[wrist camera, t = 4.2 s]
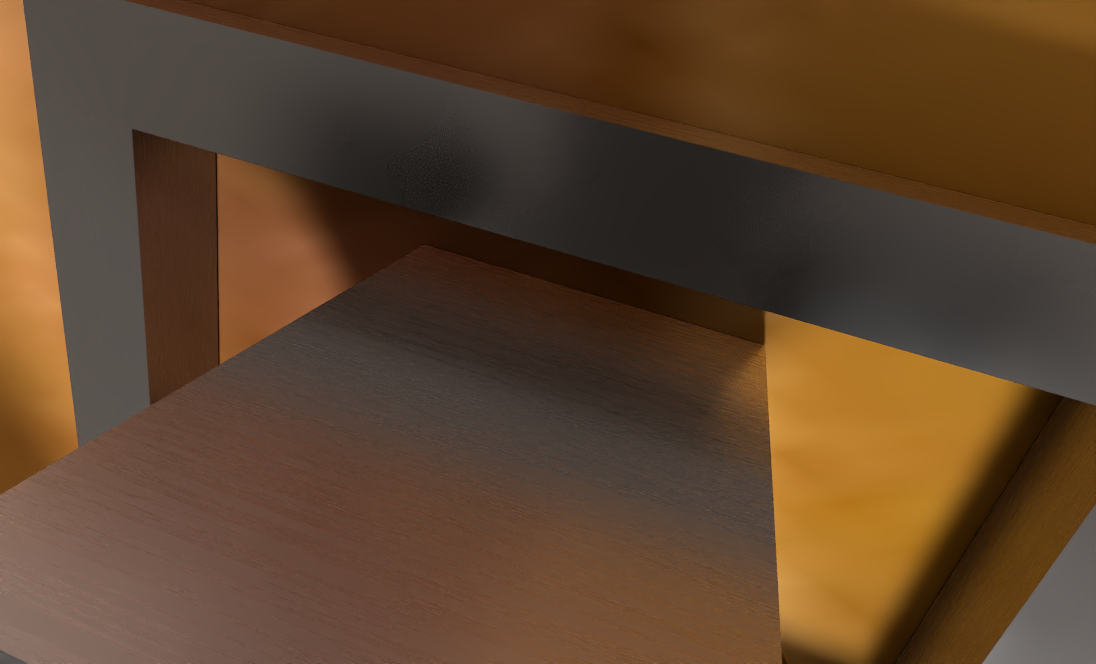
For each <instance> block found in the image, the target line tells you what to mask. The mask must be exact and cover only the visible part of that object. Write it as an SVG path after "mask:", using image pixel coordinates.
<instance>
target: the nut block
mask: <svg viewBox="0 0 1096 664" xmlns="http://www.w3.org/2000/svg"><path fill="white" fill-rule="evenodd" d="M0 664H782V653H781V635H780V616H779V598H778V580H777V561H776V543H775V524H774V506H773V488H772V469H771V451H770V432H769V414H768V396H767V377H766V359H765V346H764V345H761V344H757V343H754V342H751V341H747V340H744V339H741V338H737V337H734V336H731V335H727V334H724V333H720V332H717V331H714V330H710V329H707V328H704V327H700V326H697V325H693V324H690V323H687V322H683V321H680V320H677V319H673V318H670V317H666V316H663V315H660V314H656V313H653V312H650V311H646V310H643V309H640V308H636V307H633V306H629V305H626V304H623V303H619V302H616V301H613V300H609V299H606V298H602V297H599V296H596V295H592V294H589V293H586V292H582V291H579V290H576V289H572V288H569V287H565V286H562V285H559V284H555V283H552V282H549V281H545V280H542V279H538V278H535V277H532V276H528V275H525V274H522V273H518V272H515V271H512V270H508V269H505V268H501V267H498V266H495V265H491V264H488V263H485V262H481V261H478V260H474V259H471V258H468V257H464V256H461V255H458V254H454V253H451V252H448V251H444V250H441V249H437V248H434V247H431V246H427V245H422V246H420V247H419V248H417V249H415V250H414V251H412V252H410V253H408V254H407V255H405V256H403V257H402V258H400V259H398V260H397V261H395V262H393V263H391V264H390V265H388V266H386V267H385V268H383V269H381V270H380V271H378V272H376V273H375V274H373V275H371V276H369V277H368V278H366V279H364V280H363V281H361V282H359V283H358V284H356V285H354V286H353V287H351V288H349V289H347V290H346V291H344V292H342V293H341V294H339V295H337V296H336V297H334V298H332V299H330V300H329V301H327V302H325V303H324V304H322V305H320V306H319V307H317V308H315V309H314V310H312V311H310V312H308V313H307V314H305V315H303V316H302V317H300V318H298V319H297V320H295V321H293V322H292V323H290V324H288V325H286V326H285V327H283V328H281V329H280V330H278V331H276V332H275V333H273V334H271V335H269V336H268V337H266V338H264V339H263V340H261V341H259V342H258V343H256V344H254V345H253V346H251V347H249V348H247V349H246V350H244V351H242V352H241V353H239V354H237V355H236V356H234V357H232V358H230V359H229V360H227V361H225V362H224V363H222V364H220V365H219V366H217V367H215V368H214V369H212V370H210V371H208V372H207V373H205V374H203V375H202V376H200V377H198V378H197V379H195V380H193V381H192V382H190V383H188V384H186V385H185V386H183V387H181V388H180V389H178V390H176V391H175V392H173V393H171V394H169V395H168V396H166V397H164V398H163V399H161V400H159V401H158V402H156V403H154V404H153V405H151V406H149V407H147V408H146V409H144V410H142V411H141V412H139V413H137V414H136V415H134V416H132V417H130V418H129V419H127V420H125V421H124V422H122V423H120V424H119V425H117V426H115V427H114V428H112V429H110V430H108V431H107V432H105V433H103V434H102V435H100V436H98V437H97V438H95V439H93V440H92V441H90V442H88V443H86V444H85V445H83V446H81V447H80V448H78V449H76V450H75V451H73V452H71V453H69V454H68V455H66V456H64V457H63V458H61V459H59V460H58V461H56V462H54V463H53V464H51V465H49V466H47V467H46V468H44V469H42V470H41V471H39V472H37V473H36V474H34V475H32V476H30V477H29V478H27V479H25V480H24V481H22V482H20V483H19V484H17V485H15V486H14V487H12V488H10V489H8V490H7V491H5V492H3V493H2V494H0Z"/></svg>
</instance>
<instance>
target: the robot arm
mask: <svg viewBox="0 0 1096 664" xmlns="http://www.w3.org/2000/svg"><path fill="white" fill-rule="evenodd" d="M781 653H782V664H789V662H788V660H787V658H786V656H785V654H784V652H783V650H782V648H781Z"/></svg>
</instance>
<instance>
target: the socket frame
mask: <svg viewBox="0 0 1096 664" xmlns="http://www.w3.org/2000/svg"><path fill="white" fill-rule="evenodd" d="M23 4H24V12H25V20H26V28H27V36H28V44H29V52H30V60H31V68H32V76H33V84H34V92H35V100H36V108H37V116H38V124H39V132H40V140H41V148H42V156H43V164H44V172H45V180H46V188H47V196H48V204H49V212H50V220H51V228H52V236H53V244H54V252H55V260H56V268H57V276H58V284H59V292H60V300H61V308H62V316H63V324H64V332H65V340H66V348H67V356H68V364H69V372H70V380H71V388H72V396H73V404H74V412H75V420H76V428H77V436H78V444H79V448H80V447H81V446H83V445H85V444H86V443H88V442H90V441H92V440H93V439H95V438H97V437H98V436H100V435H102V434H103V433H105V432H107V431H108V430H110V429H112V428H114V427H115V426H117V425H119V424H120V423H122V422H124V421H125V420H127V419H129V418H130V417H132V416H134V415H136V414H137V413H139V412H141V411H142V410H144V409H146V408H147V407H149V406H151V405H153V404H154V403H156V402H158V401H159V400H161V399H163V398H164V397H166V396H168V395H169V394H171V393H173V392H175V391H176V390H178V389H180V388H181V387H183V386H185V385H186V384H188V383H190V382H192V381H193V380H195V379H197V378H198V377H200V376H202V375H203V374H205V373H207V372H208V371H210V370H212V369H214V368H215V367H217V366H218V301H217V228H216V155H215V153H219V154H222V155H226V156H229V157H233V158H236V159H239V160H243V161H246V162H250V163H253V164H257V165H260V166H264V167H267V168H271V169H274V170H278V171H281V172H285V173H288V174H292V175H295V176H299V177H302V178H306V179H309V180H313V181H316V182H320V183H323V184H326V185H330V186H333V187H337V188H340V189H344V190H347V191H351V192H354V193H358V194H361V195H365V196H368V197H372V198H375V199H379V200H382V201H386V202H389V203H393V204H396V205H400V206H403V207H407V208H410V209H413V210H417V211H420V212H424V213H427V214H431V215H434V216H438V217H441V218H445V219H448V220H452V221H455V222H459V223H462V224H466V225H469V226H473V227H476V228H480V229H483V230H487V231H490V232H494V233H497V234H501V235H504V236H507V237H511V238H514V239H518V240H521V241H525V242H528V243H532V244H535V245H539V246H542V247H546V248H549V249H553V250H556V251H560V252H563V253H567V254H570V255H574V256H577V257H581V258H584V259H588V260H591V261H594V262H598V263H601V264H605V265H608V266H612V267H615V268H619V269H622V270H626V271H629V272H633V273H636V274H640V275H643V276H647V277H650V278H654V279H657V280H661V281H664V282H668V283H671V284H675V285H678V286H681V287H685V288H688V289H692V290H695V291H699V292H702V293H706V294H709V295H713V296H716V297H720V298H723V299H727V300H730V301H734V302H737V303H741V304H744V305H748V306H751V307H755V308H758V309H762V310H765V311H768V312H772V313H775V314H779V315H782V316H786V317H789V318H793V319H796V320H800V321H803V322H807V323H810V324H814V325H817V326H821V327H824V328H828V329H831V330H835V331H838V332H842V333H845V334H849V335H852V336H856V337H859V338H862V339H866V340H869V341H873V342H876V343H880V344H883V345H887V346H890V347H894V348H897V349H901V350H904V351H908V352H911V353H915V354H918V355H922V356H925V357H929V358H932V359H936V360H939V361H943V362H946V363H949V364H953V365H956V366H960V367H963V368H967V369H970V370H974V371H977V372H981V373H984V374H988V375H991V376H995V377H998V378H1002V379H1005V380H1009V381H1012V382H1016V383H1019V384H1023V385H1026V386H1030V387H1033V388H1036V389H1040V390H1043V391H1047V392H1050V393H1054V394H1057V395H1061V396H1063V398H1062V399H1061V401H1060V402H1059V404H1058V406H1057V407H1056V409H1055V410H1054V412H1053V414H1052V415H1051V417H1050V418H1049V420H1048V421H1047V423H1046V425H1045V426H1044V428H1043V429H1042V431H1041V433H1040V434H1039V436H1038V437H1037V439H1036V441H1035V442H1034V444H1033V445H1032V447H1031V449H1030V450H1029V452H1028V453H1027V455H1026V456H1025V458H1024V460H1023V461H1022V463H1021V464H1020V466H1019V468H1018V469H1017V471H1016V472H1015V474H1014V476H1013V477H1012V479H1011V480H1010V482H1009V483H1008V485H1007V487H1006V488H1005V490H1004V491H1003V493H1002V495H1001V496H1000V498H999V499H998V501H997V503H996V504H995V506H994V507H993V509H992V511H991V512H990V514H989V515H988V517H987V518H986V520H985V522H984V523H983V525H982V526H981V528H980V530H979V531H978V533H977V534H976V536H975V538H974V539H973V541H972V542H971V544H970V546H969V547H968V549H967V550H966V552H965V553H964V555H963V557H962V558H961V560H960V561H959V563H958V565H957V566H956V568H955V569H954V571H953V573H952V574H951V576H950V577H949V579H948V580H947V582H946V584H945V585H944V587H943V588H942V590H941V592H940V593H939V595H938V596H937V598H936V600H935V601H934V603H933V604H932V606H931V608H930V609H929V611H928V612H927V614H926V615H925V617H924V619H923V620H922V622H921V623H920V625H919V627H918V628H917V630H916V631H915V633H914V635H913V636H912V638H911V639H910V641H909V643H908V644H907V646H906V647H905V649H904V650H903V652H902V654H901V655H900V657H899V658H898V660H897V662H896V663H895V664H1096V226H1095V225H1091V224H1087V223H1083V222H1079V221H1075V220H1071V219H1067V218H1063V217H1059V216H1055V215H1050V214H1046V213H1042V212H1038V211H1034V210H1030V209H1026V208H1022V207H1018V206H1014V205H1010V204H1006V203H1002V202H998V201H994V200H990V199H986V198H982V197H978V196H974V195H969V194H965V193H961V192H957V191H953V190H949V189H945V188H941V187H937V186H933V185H929V184H925V183H921V182H917V181H913V180H909V179H905V178H901V177H897V176H893V175H889V174H884V173H880V172H876V171H872V170H868V169H864V168H860V167H856V166H852V165H848V164H844V163H840V162H836V161H832V160H828V159H824V158H820V157H816V156H812V155H808V154H803V153H799V152H795V151H791V150H787V149H783V148H779V147H775V146H771V145H767V144H763V143H759V142H755V141H751V140H747V139H743V138H739V137H735V136H731V135H727V134H722V133H718V132H714V131H710V130H706V129H702V128H698V127H694V126H690V125H686V124H682V123H678V122H674V121H670V120H666V119H662V118H658V117H654V116H650V115H646V114H641V113H637V112H633V111H629V110H625V109H621V108H617V107H613V106H609V105H605V104H601V103H597V102H593V101H589V100H585V99H581V98H577V97H573V96H569V95H565V94H560V93H556V92H552V91H548V90H544V89H540V88H536V87H532V86H528V85H524V84H520V83H516V82H512V81H508V80H504V79H500V78H496V77H492V76H488V75H484V74H480V73H475V72H471V71H467V70H463V69H459V68H455V67H451V66H447V65H443V64H439V63H435V62H431V61H427V60H423V59H419V58H415V57H411V56H407V55H403V54H399V53H394V52H390V51H386V50H382V49H378V48H374V47H370V46H366V45H362V44H358V43H354V42H350V41H346V40H342V39H338V38H334V37H330V36H326V35H322V34H318V33H313V32H309V31H305V30H301V29H297V28H293V27H289V26H285V25H281V24H277V23H273V22H269V21H265V20H261V19H257V18H253V17H249V16H245V15H241V14H237V13H232V12H228V11H224V10H220V9H216V8H212V7H208V6H204V5H200V4H196V3H192V2H188V1H184V0H23Z"/></svg>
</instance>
